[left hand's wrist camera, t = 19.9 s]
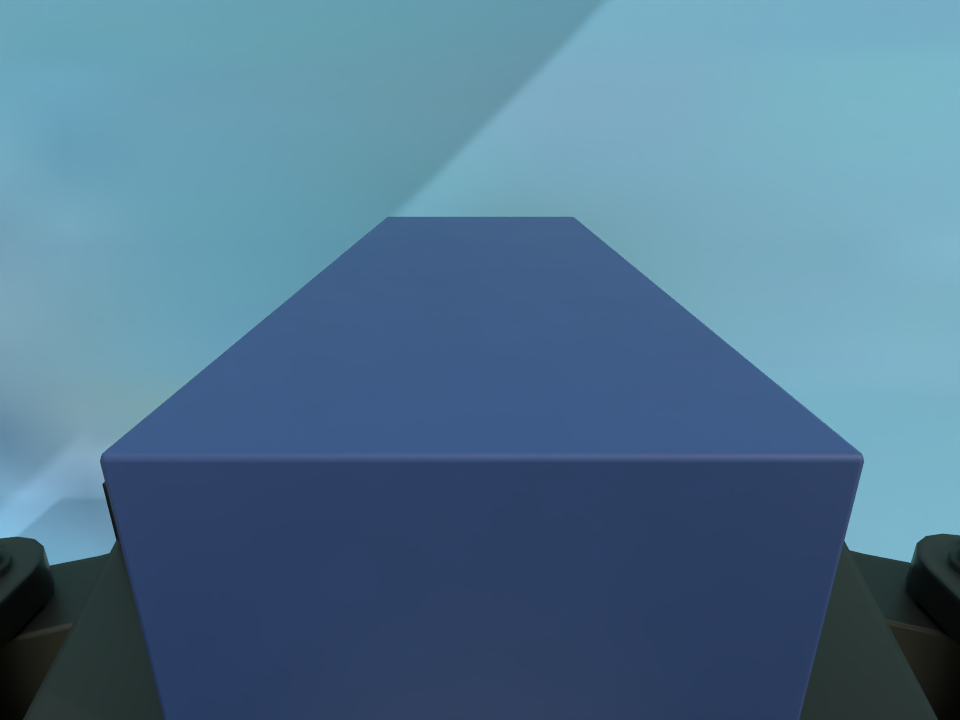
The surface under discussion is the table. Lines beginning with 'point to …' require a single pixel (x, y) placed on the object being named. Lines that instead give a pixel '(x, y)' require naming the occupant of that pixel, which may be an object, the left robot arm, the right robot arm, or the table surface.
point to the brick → (481, 498)
